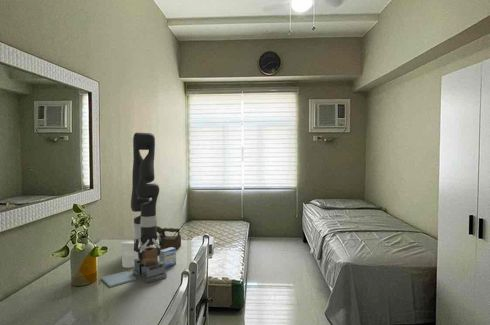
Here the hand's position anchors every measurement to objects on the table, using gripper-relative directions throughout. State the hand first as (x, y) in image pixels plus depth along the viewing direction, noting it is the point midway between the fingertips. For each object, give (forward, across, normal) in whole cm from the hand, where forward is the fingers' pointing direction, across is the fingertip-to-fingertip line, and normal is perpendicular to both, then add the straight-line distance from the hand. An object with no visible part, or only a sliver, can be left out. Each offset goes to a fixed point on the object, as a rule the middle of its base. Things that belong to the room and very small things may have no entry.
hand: (149, 257), depth 154 cm
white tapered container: (+9, +1, -20) cm, 22 cm away
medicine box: (+9, -13, -6) cm, 17 cm away
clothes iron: (+9, -28, -33) cm, 44 cm away
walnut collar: (+3, 0, 0) cm, 3 cm away
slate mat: (+9, +13, -5) cm, 16 cm away
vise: (+9, 0, 0) cm, 9 cm away
